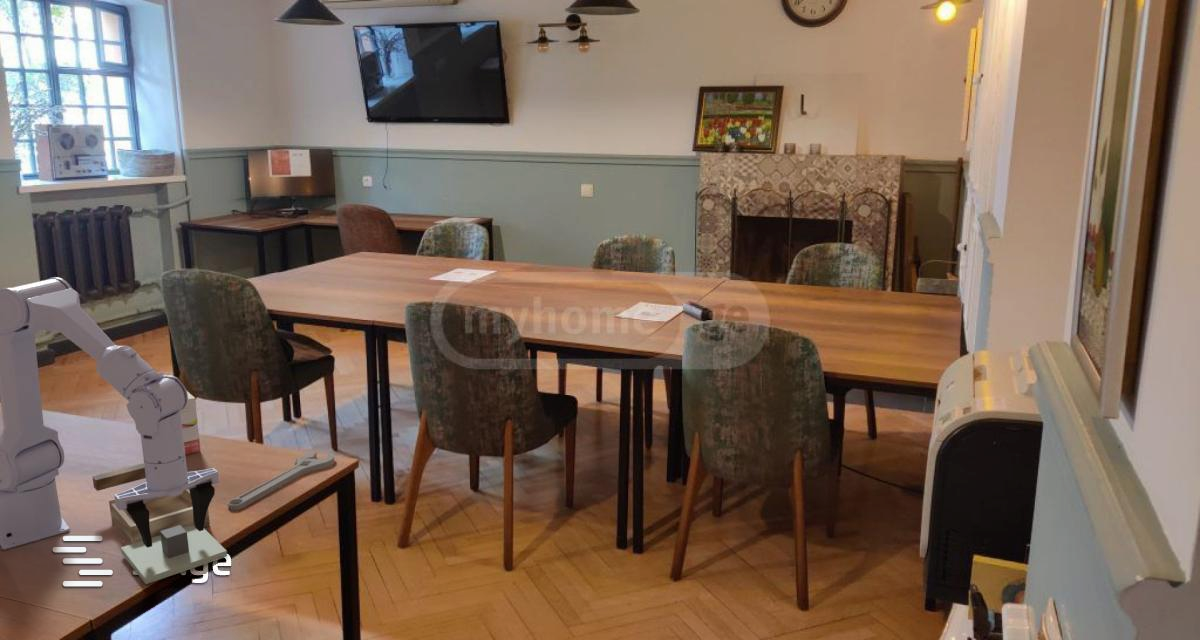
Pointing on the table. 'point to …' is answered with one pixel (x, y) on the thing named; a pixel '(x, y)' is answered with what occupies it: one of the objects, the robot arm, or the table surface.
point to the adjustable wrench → (282, 479)
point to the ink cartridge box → (190, 426)
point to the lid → (173, 553)
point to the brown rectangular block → (119, 477)
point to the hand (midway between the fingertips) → (174, 536)
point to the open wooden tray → (157, 516)
